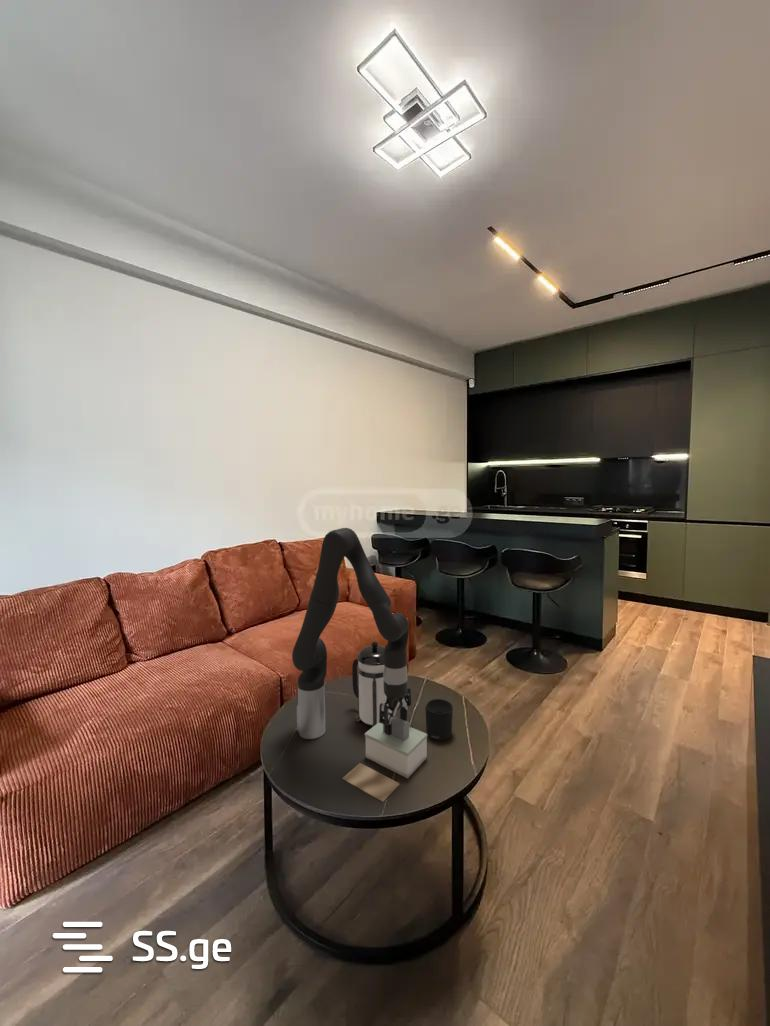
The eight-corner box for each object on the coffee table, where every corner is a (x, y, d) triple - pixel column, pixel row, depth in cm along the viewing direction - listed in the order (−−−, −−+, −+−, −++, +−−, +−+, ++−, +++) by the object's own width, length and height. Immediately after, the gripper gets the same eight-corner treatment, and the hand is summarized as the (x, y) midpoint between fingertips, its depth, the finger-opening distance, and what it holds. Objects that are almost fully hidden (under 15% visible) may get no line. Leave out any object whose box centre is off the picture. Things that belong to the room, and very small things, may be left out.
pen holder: (420, 730, 145) (420, 703, 144) (442, 722, 149) (442, 696, 148) (435, 745, 136) (435, 716, 135) (458, 737, 140) (458, 709, 140)
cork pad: (342, 779, 121) (342, 777, 121) (359, 764, 127) (359, 762, 127) (383, 802, 112) (383, 800, 112) (399, 784, 119) (399, 783, 119)
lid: (364, 740, 130) (364, 720, 130) (385, 723, 139) (385, 704, 139) (407, 760, 120) (407, 738, 120) (427, 740, 130) (427, 720, 129)
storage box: (365, 757, 131) (365, 736, 130) (386, 739, 139) (385, 720, 139) (407, 778, 121) (407, 756, 121) (426, 758, 130) (426, 737, 129)
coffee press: (397, 709, 158) (396, 633, 156) (394, 734, 142) (393, 650, 140) (353, 707, 160) (352, 632, 158) (345, 731, 144) (343, 649, 142)
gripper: (398, 666, 136) (399, 713, 137) (372, 683, 125) (372, 734, 126) (417, 672, 132) (418, 720, 133) (391, 690, 120) (392, 743, 121)
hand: (396, 727), depth 129 cm, fingers open, 8 cm apart
